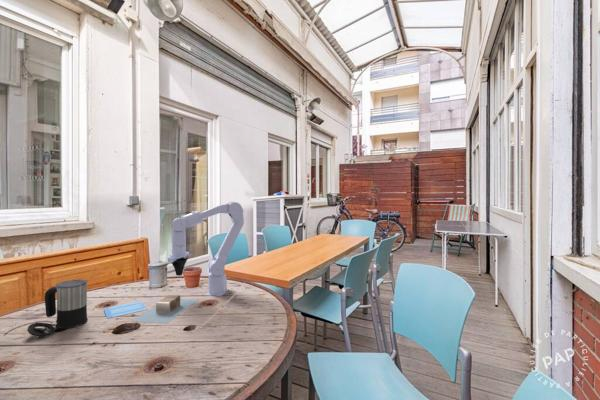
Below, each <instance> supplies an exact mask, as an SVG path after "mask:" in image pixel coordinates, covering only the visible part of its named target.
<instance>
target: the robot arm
mask: <svg viewBox="0 0 600 400" xmlns="http://www.w3.org/2000/svg"><path fill="white" fill-rule="evenodd" d="M218 214H227V215H228V216H229V218H230V219H231V221H232V224H231V226H230V227H229V230H228V232H227V233H226V236H225V238H224V239H223V241H222V243H221V246H220V247H219V249H218V251H217V253H216V254H214V257H213V258H212V259H211V260H210V261H209V262H208V265H207V266H208V269H209V272H208V273H207V274H208V277H207V278H208V279H207V281H208V282H207V283H208V289H207V290H208V292H206V293H205V294H204V295H205V296H213V297H215V296H217V297H222V296H223V295H224V294H226V292H227V291H229V288H228V285H227V284H228V277H227V275H226V273H225V265H226V263H227V259H228V256H229V254H230V253H231V250H232V248H233V246H234V244H235V242H236V240H237V238H238V236H239V235H240V233H241V231H242V228H243V226H244V225H245V220H244V218H245V217H244V209H243V207H242V205H241V204H240V203H239V202H235V201H229V202H225V203H222V204H218V205H216V206H213V207H211V208H209V209H206V210H204V211H201V212H200V211H198V210H193V211H191V213H188V214H185V215H184V214H183V215H181V216H180V217H176V218H175V219H173V221H172V223H171V228H172V231H171V234H172V235H171V253H170V254H169V257H167V263H169V264H171V265H172V266H173V268H174V271H175V276H180V277H181V276H182V275H183V273H184V269H185V265H186V263H187V261H188V258H186V257H189V256H190V251H187V243H186V242H187V241H186V240H187V236H186V228H187V229H188V228H191V227H193V226H197V225H199V224H202V223H203V221H204V219H207V218H209V217H212V216H215V215H218Z"/></svg>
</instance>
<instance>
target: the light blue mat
mask: <svg viewBox="0 0 600 400" xmlns="http://www.w3.org/2000/svg"><path fill="white" fill-rule="evenodd" d="M198 301H199V299H193V298H191V299H190V298H180V306H178V307H177V308H175V309H174V310H173V311H171V312H170V313H168V314H164V313H156V305H155V306H153V307H151V308H150V309H148V310H146V311H145V312H143V313H142V314H141V315H139V316H137V317H135V318H134V319H132V320H131V322H136V323H137V322H139V323H154V324H155V323H156V324H169V322H171V321H172V320H174V319H175V318H176V317H178V316H179V315H180V314H181V313H183V312H184V311H185V310H186V309H188V308H190V307H192V305H194V304H195V303H196V302H198Z"/></svg>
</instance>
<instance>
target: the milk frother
mask: <svg viewBox="0 0 600 400" xmlns="http://www.w3.org/2000/svg"><path fill="white" fill-rule="evenodd" d="M88 282H89V281H88V280H86V279H71V280H65V281H61V282H59V283H56V284H55V285H54V286H52V287H50V288H48V289H47V290H46V291H45V293H44V307H45V316H46V318H51V317H54V316H55V315H56V319H55V321H56V322H55V324H54V323H53V324H52V323H47V322H34V323H31V324H30V325H28V327H27V333H28V334H30V335H31V336H34V337H39V338H42V337H47V336H49V335H52V334H54V332H55V330H56V329H61V330H63V329H70V328H76V327H79V326H82V325H83V324H85V323H87V322H88V320H89V319H88V310H87V307H88V306H87V305H88V302H87V301H88V298H87V297H88V294H87V293H88V289H87V288H88ZM54 326H55V327H54ZM55 328H56V329H55ZM47 329H49V331H47Z"/></svg>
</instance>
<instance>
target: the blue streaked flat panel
mask: <svg viewBox="0 0 600 400" xmlns="http://www.w3.org/2000/svg"><path fill="white" fill-rule="evenodd" d="M144 311H148V308H147V307H146V305H145V304H144V303H143V301H133V302H129V303H123V304H118V305H114V306H109V307H104V308H103V312H104V314H105V316H106V318H107V319H112V318H116V317H120V316H121V317H122V316H125V315H130V314H134V313H139V312H144Z"/></svg>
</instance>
